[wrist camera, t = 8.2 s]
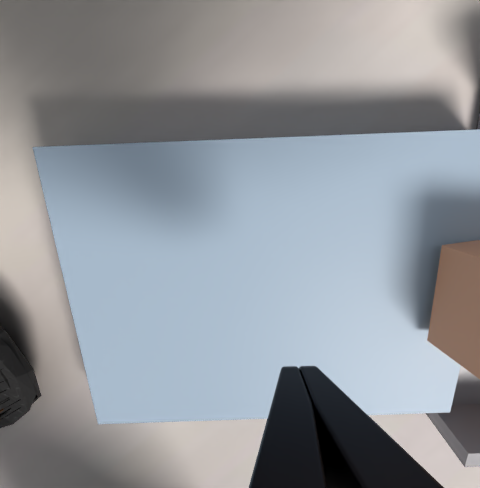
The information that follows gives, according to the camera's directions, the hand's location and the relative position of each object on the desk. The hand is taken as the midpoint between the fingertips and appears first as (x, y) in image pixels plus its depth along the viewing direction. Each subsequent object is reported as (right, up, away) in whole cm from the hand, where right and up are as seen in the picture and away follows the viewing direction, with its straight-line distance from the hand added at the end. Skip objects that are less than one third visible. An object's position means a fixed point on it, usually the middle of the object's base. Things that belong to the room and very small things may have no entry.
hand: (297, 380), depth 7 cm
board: (0, +2, +6) cm, 6 cm away
